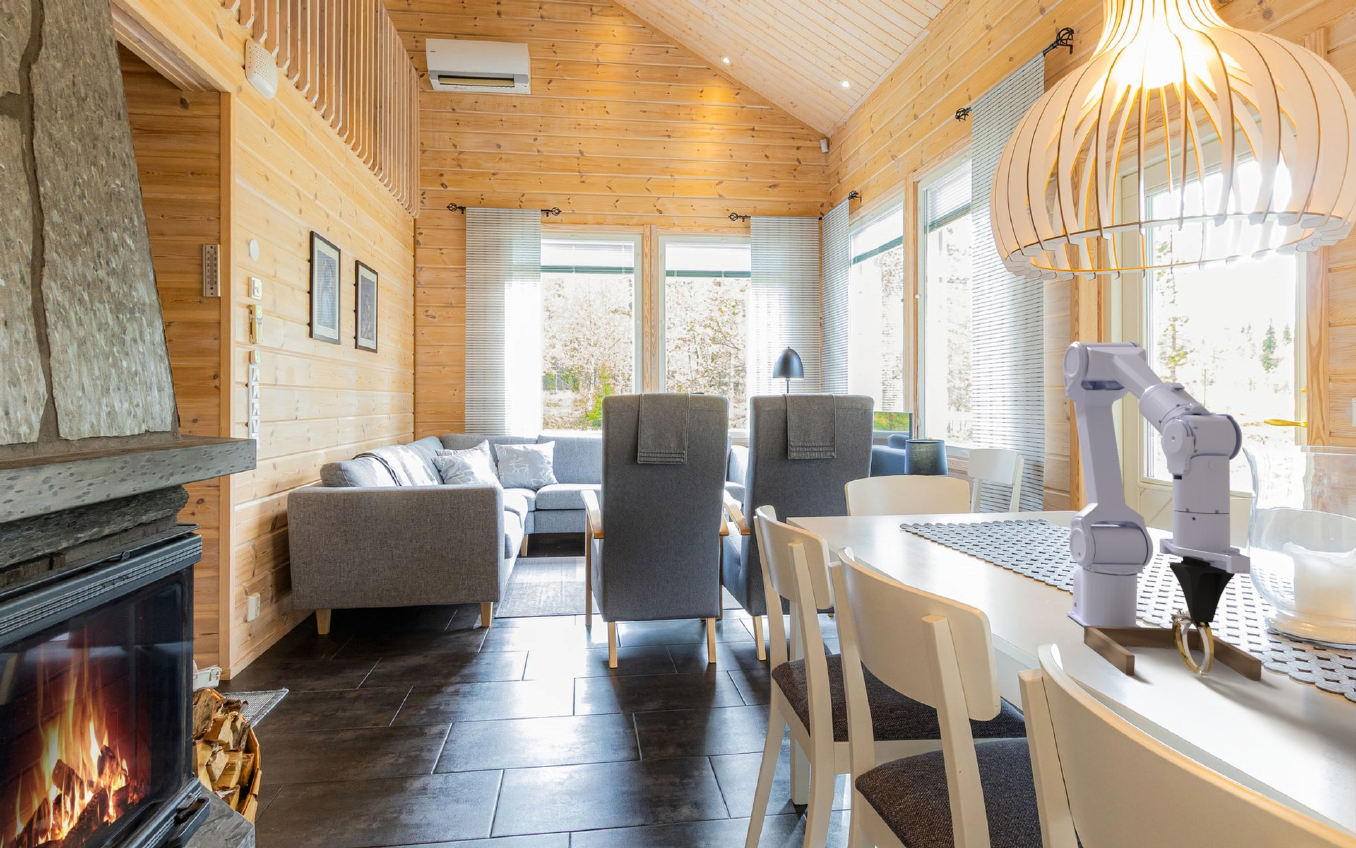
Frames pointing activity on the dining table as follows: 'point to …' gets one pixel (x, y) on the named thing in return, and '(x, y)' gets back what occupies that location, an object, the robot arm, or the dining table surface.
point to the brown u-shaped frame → (1113, 638)
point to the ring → (1182, 644)
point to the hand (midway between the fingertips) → (1201, 621)
